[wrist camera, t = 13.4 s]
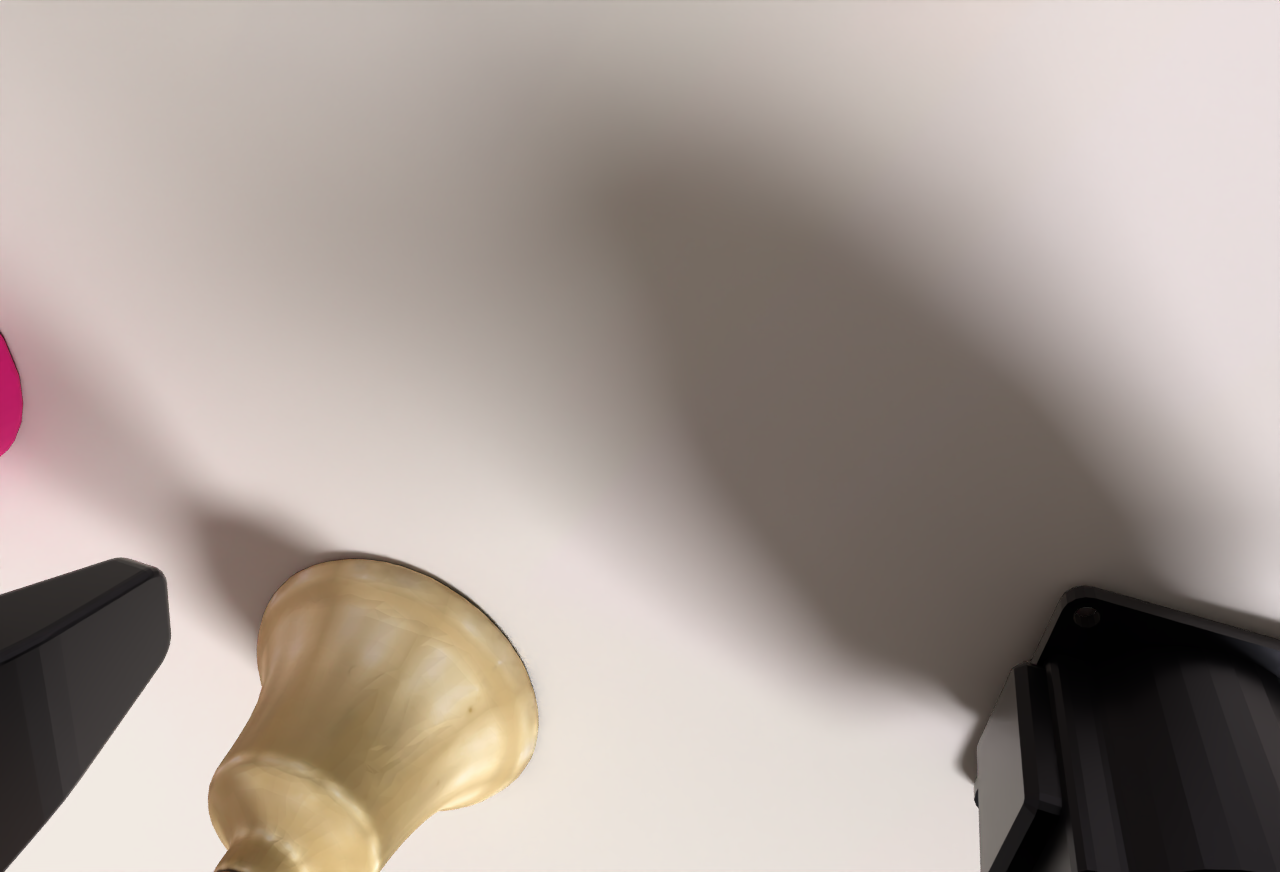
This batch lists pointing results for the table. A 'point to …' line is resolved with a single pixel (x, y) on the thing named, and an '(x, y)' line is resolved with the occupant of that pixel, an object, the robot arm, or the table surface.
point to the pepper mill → (9, 399)
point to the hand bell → (368, 720)
